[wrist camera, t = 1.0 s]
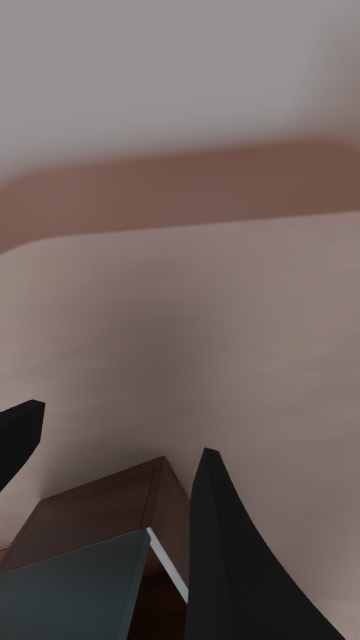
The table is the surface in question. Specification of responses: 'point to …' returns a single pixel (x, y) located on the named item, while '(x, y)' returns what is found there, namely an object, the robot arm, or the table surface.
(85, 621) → the lid
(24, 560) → the toy box
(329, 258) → the table surface
